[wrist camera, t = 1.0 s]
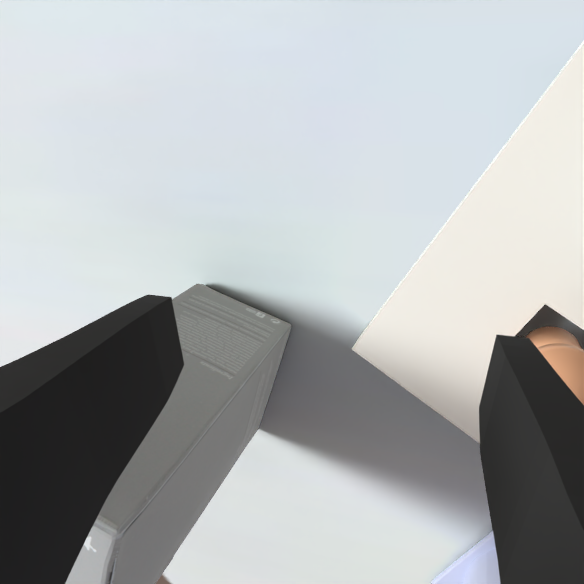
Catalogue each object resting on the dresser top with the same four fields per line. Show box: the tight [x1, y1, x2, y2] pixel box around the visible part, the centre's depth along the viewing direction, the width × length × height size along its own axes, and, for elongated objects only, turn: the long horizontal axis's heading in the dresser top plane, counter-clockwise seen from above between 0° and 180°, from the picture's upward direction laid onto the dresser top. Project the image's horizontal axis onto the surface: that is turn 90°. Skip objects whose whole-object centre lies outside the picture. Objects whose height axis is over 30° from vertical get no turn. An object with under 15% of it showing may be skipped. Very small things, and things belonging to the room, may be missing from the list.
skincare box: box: [65, 284, 291, 584], centre depth 22 cm, size 8×7×16 cm
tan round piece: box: [525, 326, 584, 405], centre depth 20 cm, size 3×3×3 cm
